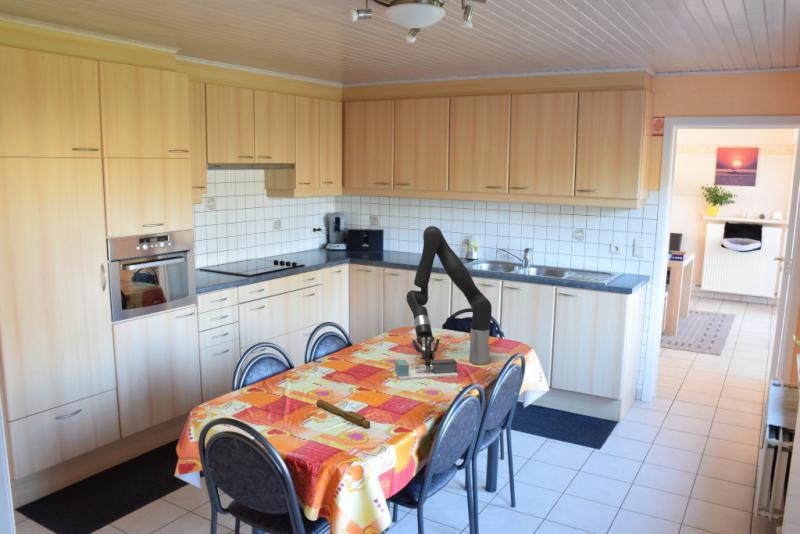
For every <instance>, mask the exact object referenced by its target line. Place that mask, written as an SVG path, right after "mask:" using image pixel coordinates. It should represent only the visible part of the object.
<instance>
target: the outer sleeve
mask: <svg viewBox="0 0 800 534" xmlns="http://www.w3.org/2000/svg"><path fill="white" fill-rule="evenodd" d="M431 364H434V370H431V371H432V372H433V373H434V374H442V373H457V374H458V372H457V371H458V370H457V369H458V367H457V366H458V362H457V361H456V360H455V359H454V358H452V359H451V358H447V359H433V360H431Z"/></svg>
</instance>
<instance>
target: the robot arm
mask: <svg viewBox="0 0 800 534" xmlns="http://www.w3.org/2000/svg"><path fill="white" fill-rule="evenodd" d="M422 238H423V239H422V240H423V244H422V253H421V258H420V260H419V263H418V266H417V268H416V273H415V277H414V280H413V284H414V286H415V287H418V288H420V290H409V291H408V292H407V294H406V303H407V305H408V307H409V308H410V310H411V312H412V313H411V314H412V316H413V322H414V329H415V330H414V331H415V335H416V339H412V341H411V345H412V346H413V348H414V349H415V351H416V352H417V353H420V354H421V358H422V360H423V361H425V360H426V359H427V358H426V352H425V340H427V339H429V340H431V360H435V357H436V356H435V353H436V352H437V349H438V347H439V344H440V338H437V339H436V338H435V337H434V336H433V330H432V326H431V322H430V318H429V313H428V309H427V307H425V305H427V303H428V301H429V282H430V278H431V274H432V271H433V270H432V269H433V266H434V260H435V258H436V256H437V257H438V259H439V261H440V263H441V266H442V267H443V269H444V271H445V273H446V274H447V275H448V277H449V279H450V280H451V281H452V282H453V284H454V285H455V286H456V288H458V290H460V292H461V293H462V294H463V296H464V297H465V299H466V301H467V302H468V304H469V306H470V307H471V310H472V319H471V323H470V331H469V332H470V334H469V335H470V336H469V338H470V339H469V353H468V354H469V357H468V362H469V363H471V364H474V365H477V366H478V365H481V366H482V365H487V364H490V353H491V344H490V327H491V321H492V312H493V311H492V310H493V309H492V303H491V302H490V300H489V299H488V298H487V297H486V296H485V295H484V294H483V293H482V292H481V290H480V289H479V288H478V286H476V283H475V282H474V279H473V278H472V275H471V274H470V272H469V270H468V269H467V267H466V266H465V265H464V262H462V260H461V259H460V258H459V256H458V255H457V253H456V252H454V250H453V249H452V248H451V247H450V245H449V243H448V242H447V241H446V237H444V234H443V233H442V230H441V229H440V228H439V227H438V226H435V225H430V226H427V227H426V228H425V229H424V231H423V235H422ZM433 342H434V346H433ZM419 345H420V346H419Z"/></svg>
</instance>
